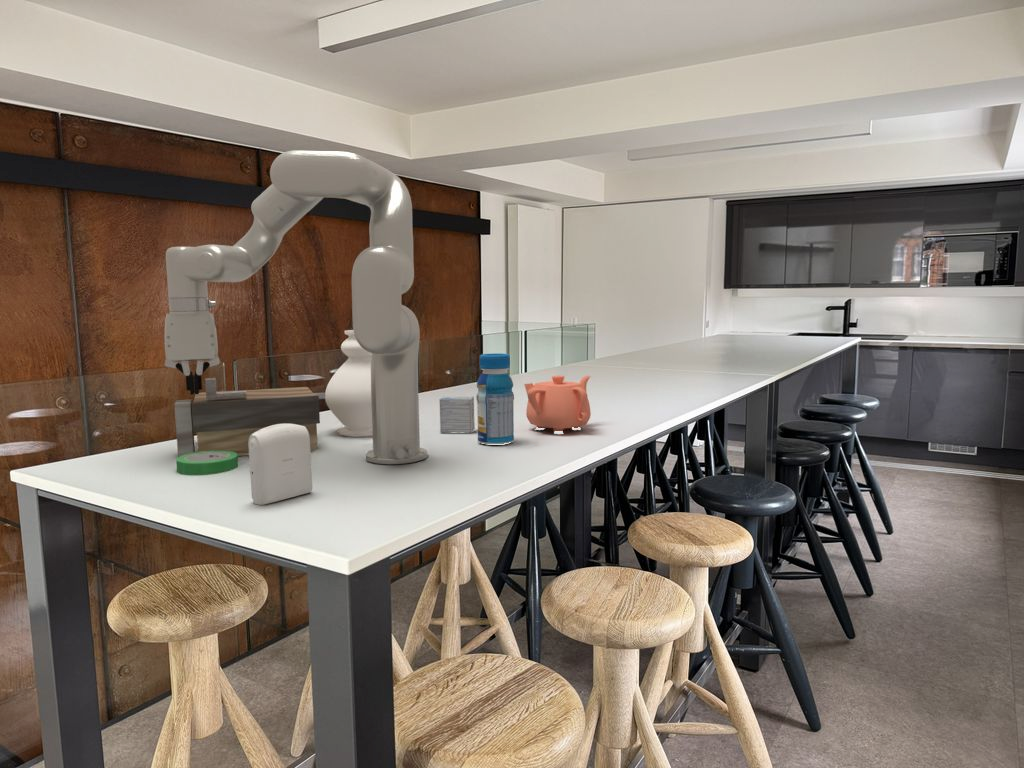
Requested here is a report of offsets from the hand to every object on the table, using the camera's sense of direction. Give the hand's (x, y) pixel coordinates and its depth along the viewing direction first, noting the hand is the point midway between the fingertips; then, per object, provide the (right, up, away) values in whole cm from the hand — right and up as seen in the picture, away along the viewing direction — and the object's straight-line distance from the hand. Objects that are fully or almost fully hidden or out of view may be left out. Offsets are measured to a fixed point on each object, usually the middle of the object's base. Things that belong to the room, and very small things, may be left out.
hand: (194, 393), depth 152 cm
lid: (+10, -6, +9) cm, 14 cm away
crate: (+8, -12, +9) cm, 17 cm away
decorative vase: (+31, -10, +24) cm, 41 cm away
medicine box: (+54, -10, +23) cm, 60 cm away
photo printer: (+29, -17, -33) cm, 47 cm away
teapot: (+79, -9, +25) cm, 83 cm away
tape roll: (+8, -15, -11) cm, 20 cm away
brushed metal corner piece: (+6, -1, +2) cm, 6 cm away
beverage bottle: (+64, -11, +10) cm, 66 cm away
